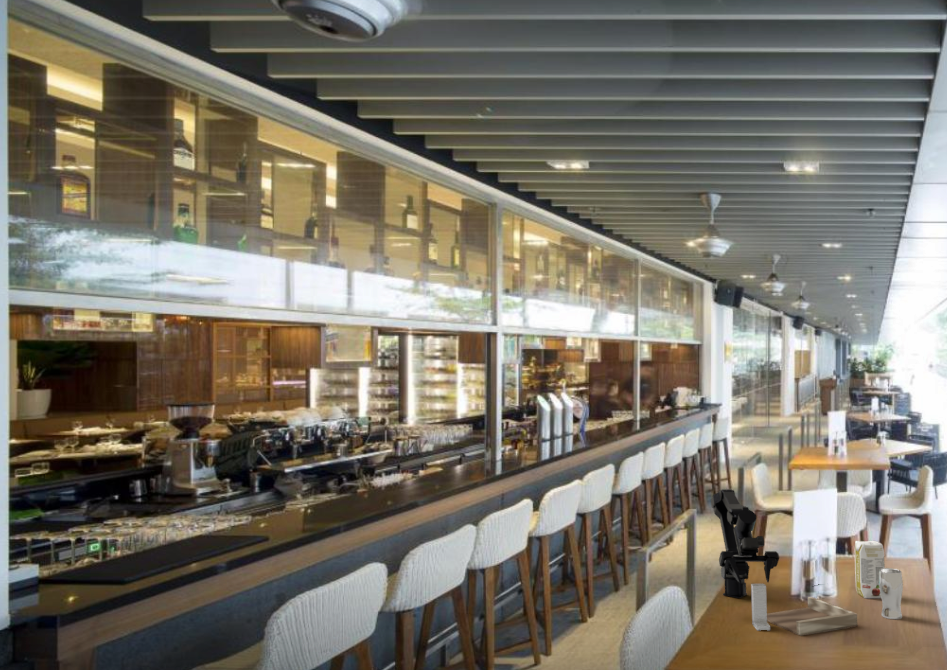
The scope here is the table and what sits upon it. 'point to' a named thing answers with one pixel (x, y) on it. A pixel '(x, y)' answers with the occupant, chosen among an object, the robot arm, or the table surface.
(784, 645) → the table surface
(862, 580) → the juice carton
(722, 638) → the table surface
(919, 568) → the table surface
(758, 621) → the aluminium bracket
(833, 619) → the corner board
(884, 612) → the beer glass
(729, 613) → the table surface
